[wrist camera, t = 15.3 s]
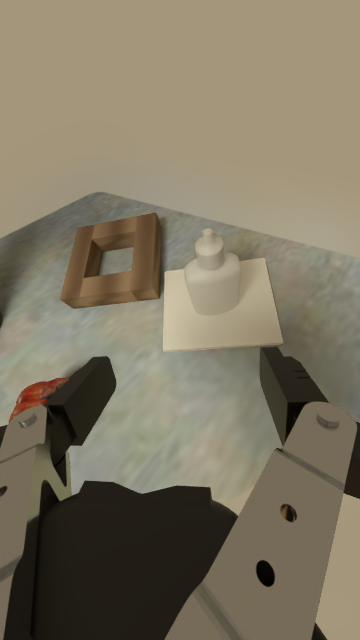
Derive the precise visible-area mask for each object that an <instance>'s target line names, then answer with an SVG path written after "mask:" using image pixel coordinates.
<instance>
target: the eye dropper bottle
mask: <svg viewBox="0 0 360 640" xmlns="http://www.w3.org/2000/svg"><path fill="white" fill-rule="evenodd" d="M195 252H196V257H197V258H195V259H193V260H192V261H191V262H189V263H188V264H187V265H186V266H185V268H184V276H185V282H186V285H187V289H188V292H189V295H190V298H191V301H192V304H193V307H194V310H195V312H196V313H197V314H200V315H218V314H222V313H225V312H227V311H229V310H231V309H233V308H235V307H236V306H237V305H238V303H239V294H240V284H241V271H242V269H241V264H240V261H239V258H238V256H237V255H236V254H233V253H229V252H224V242H223V240H222V238H221V237H220V236H218V235H215V234H213V232H212V230H211V229H210V228H206V229H204V230H203V236H202V237H200V238H199V239H198V240H197V241H196V243H195Z"/></svg>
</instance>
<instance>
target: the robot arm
mask: <svg viewBox="0 0 360 640" xmlns="http://www.w3.org/2000/svg"><path fill="white" fill-rule="evenodd" d="M0 321H1V315H0ZM260 381H261V386H262V389H263V392H264V395H265V398H266V400H267V403H268V406H269V409H270V412H271V415H272V417H273V420H274V423H275V426H276V429H277V432H278V434H279V437H280V440H281V443H282V446H283V448H282V449H279V448H277V449H275V451H274V452H273V453H272V455H271V457H270V459H269V461H268V463H267V464H266V466H265V468H264V470H263V472H262V474H261V476H260V477H259V479H258V481H257V483H256V485H255V487H254V489H253V491H252V492H251V494H250V496H249V498H248V500H247V501H246V503H245V505H244V507H243V509H242V511H241V513H240V514H239V516H238V515H236V514H235V513H234V512H233V511H231V510H230V509H229V508H227V507H225V506H224V505H222V504H220V503H218V502H216V501H213V500H212V496H211V489H210V487H193V486H173V487H169V488H165V489H161V490H157V491H153V492H149V493H144V494H140V493H137V492H135V491H133V490H130V489H128V488H126V487H123V486H121V485H119V484H116V483H114V482H100V481H84V483H83V485H82V487H81V489H80V491H79V493H78V494H75V495H72V492H71V475H70V457H69V453H68V451H67V450H68V448H69V447H70V445H73V446H82V444H83V443H84V441H85V439H86V438H87V436H88V434H89V433H90V431H91V429H92V428H93V426H94V424H95V423H96V421H97V419H98V418H99V416H100V414H101V413H102V411H103V409H104V408H105V406H106V404H107V403H108V401H109V399H110V398H111V396H112V394H113V393H114V391H115V388H116V378H115V375H114V372H113V369H112V365H111V362H110V359H109V358H108V357H107V356H103V357H93V358H91V359H90V360H89V362H88V363H87V364H86V365H85V366H84V367H83V368H81V369H80V370H78V371H77V372H75V373H74V374H73V375H72V376H71V377H70V378H69V380H68V381H66V382H65V383H64V384H63V386H61V388H60V389H59V390H58V391H57V392H56V393H55V394H54V395H53V396H52V397H51V398H50V399H49V400H48V401H47V402H46V403H45V404H44V405H43V406H35V407H32V408H29V409H27V410H25V411H23V412H22V413H20V414H19V415H17V416H16V417H15V418H13V419H12V420H11V421H10V423H9V424H8V425H5V426H1V427H0V640H327V639H326V637H325V636H324V635H323V633H322V631H321V630H320V628H319V627H318V626H317V624H316V623H315V620H316V615H317V611H318V606H319V602H320V597H321V592H322V588H323V583H324V579H325V574H326V570H327V565H328V561H329V556H330V552H331V547H332V542H333V538H334V533H335V529H336V524H337V519H338V515H339V511H340V506H341V502H342V497H343V493H345V494H347V495H351V496H353V497H356V498H359V499H360V423H358V422H355V420H354V419H353V417H352V416H351V415H350V414H349V413H347V412H346V411H345V410H343V409H341V408H340V407H338V406H335V405H333V404H330V403H329V402H328V401H327V399H326V398H325V396H324V395H323V394H322V392H321V391H320V389H319V388H318V387H317V385H316V384H315V383H314V381H313V380H312V379H311V378H310V376H309V374H308V373H307V372H306V370H305V369H304V367H303V366H302V364H301V363H300V362H298V361H297V360H295V359H294V358H292V357H291V356H290V357H283V355H282V353H281V352H280V350H279V348H278V347H263V348H260Z"/></svg>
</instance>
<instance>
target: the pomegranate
mask: <svg viewBox="0 0 360 640" xmlns="http://www.w3.org/2000/svg"><path fill="white" fill-rule="evenodd" d="M68 380H69V379H68V378H56V379H54V380H51V381H48V382H38V383H35V384H33V385H30V386H28V387H27V388H25V389H24V390H23V391H22V392H21V394H20V395H19V397H18V399H17V402H16V403H17V405H16V406H15V408H14V411H13V413H12V414H11V417H10V420H9V423H10V421H11V420H12V419H13V418H15V417H16V416H17V415H19V414H20V413H22V412H23V411H25V410H27V409H29V408H32V407H35V406H43V405H44V404H45V403H46V402H47V401H48V400H49V399H50V398H51V397H52V396H53V395H54V394H55V393H56V392H57V391H58V390H59V389H60V388H61V386H63V384H64V383H65V382H66V381H68Z"/></svg>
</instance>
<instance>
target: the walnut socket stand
mask: <svg viewBox="0 0 360 640" xmlns="http://www.w3.org/2000/svg"><path fill="white" fill-rule="evenodd" d="M161 228H162V227H161V225H160V222H159V219H158V216H157V214H156V213H151V214H146V215H141V216H136V217H131V218H126V219H121V220H116V221H111V222H106V223H101V224H96V225H91V226H86V227H81V228H78V230H77V234H76V238H75V242H74V246H73V250H72V254H71V258H70V262H69V266H68V270H67V274H66V277H65V281H64V285H63V289H62V293H61V297H60V300H61V301H63V302H64V303H66V304H67V305H69V306H70V307H72V308H73V309H76V308H84V307H93V306H101V305H110V304H118V303H127V302H135V301H144V300H152V299H159V288H160V258H161ZM133 246H134V253H133V262H132V271H129V272H122V273H115V274H108V275H102V276H98V271H99V266H100V260H101V254H102V252H104V251H110V250H116V249H122V248H127V247H133Z"/></svg>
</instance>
